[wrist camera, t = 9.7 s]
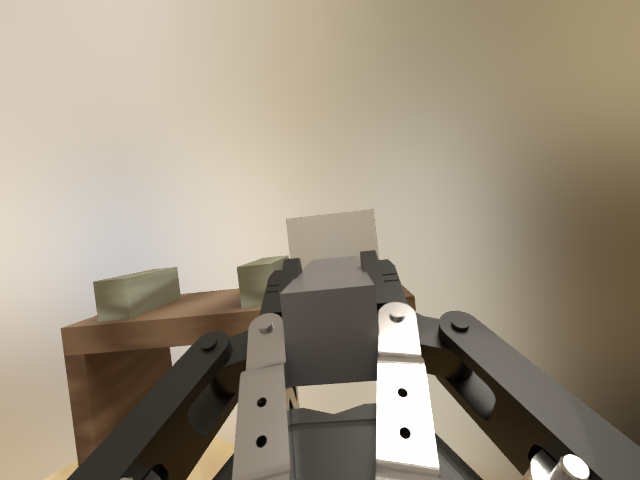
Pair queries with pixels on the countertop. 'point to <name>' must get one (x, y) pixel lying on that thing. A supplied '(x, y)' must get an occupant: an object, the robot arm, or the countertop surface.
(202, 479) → the countertop surface
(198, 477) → the countertop surface
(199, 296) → the countertop shelf
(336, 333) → the module
